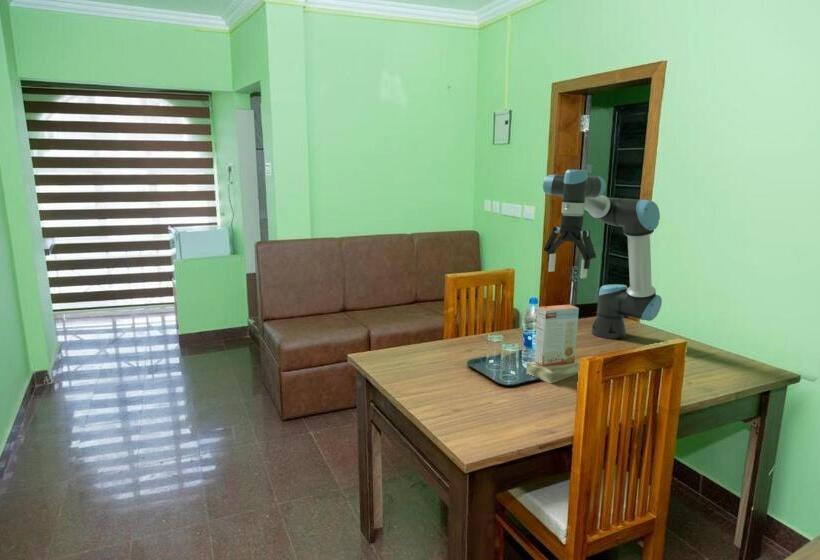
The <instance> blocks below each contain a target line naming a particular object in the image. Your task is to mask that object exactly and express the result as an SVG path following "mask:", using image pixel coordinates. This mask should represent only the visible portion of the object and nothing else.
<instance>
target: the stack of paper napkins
mask: <svg viewBox="0 0 820 560" xmlns="http://www.w3.org/2000/svg"><path fill="white" fill-rule="evenodd" d="M579 363H580V362H578V361H576V360H575V361H574V363H566V364H558V365H550V366H541V365H539V364H538V363H536V362H534V360H533V361H530V362H528V363H527V362H526V368H525V369H526V371H525V373H526V375H528V374H529V375H528V376H530V375H532V376H531V377H533V376H535V377H538V378H540V379H539V380H540V381H544V382H546V383H548V384H553V383H556V382H559V381H562V380H564V379H568V378H571V377H573V376H576V375H578V374H577V373H578V365H579ZM535 377H534V378H535ZM538 378H537V379H538Z"/></svg>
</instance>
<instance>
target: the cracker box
mask: <svg viewBox="0 0 820 560" xmlns="http://www.w3.org/2000/svg"><path fill="white" fill-rule="evenodd" d="M579 311H580V308H579V307H578V306H574V305H572V304H561V305H560V304H559V305H549V306H547V305H546V306H538V307H537V312H536V328H535V341H534V342H535V345H534V357H533V359H534V360H533V361H534V362H536V363H538V364H539V365H541V366H550V365H558V364H566V363H574V361H576V360H575V359H576V347H577V334H578V323H579V321H578V320H579Z"/></svg>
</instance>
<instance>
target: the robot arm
mask: <svg viewBox="0 0 820 560" xmlns="http://www.w3.org/2000/svg"><path fill="white" fill-rule="evenodd" d="M606 187H607V184H606V181H605V179H604V178H603V177H601V176H599V175H598V176H597V175H588V171H587V170H585V169H566V171H565V172H564V174H548V175H547V176H545V177H544V179H543V182H542V190H543V192H544V193H545V194H546V195H550V196H557V197H560V198H561V199H562V202H561V212H560V213H561V215H560V223H559V225H560V226H553V227H552V231H551V234H550V236H549V237H548V240H547V242H546V243H545V245H544V247H543V251H544V252H547V263H548V266H547V267H548V270H547V271H548V272H549V273H551V272H555V269H556V259H557V256H556V255H557V253H555V252H556V251H557V250H558V249H559V247H561V245H562V244H563V243H564V242H570V243H574V244H575V245H576V247H577V249H578V251H579V252H580V255H582V259H581V264H580V265H581V266H580V275H579V276H580V277H579V278H580V279H587V276H588V270H589V269H590V267H591V266H590V265H591V260H593V259H596V257H597V256H596V251H595V248H594V245H593V243H592V240H591V239H592V238H591V231H590V230H588V229H586V230H583V229H582V227H583V224H584V216H583V215H584V213H585V211H587V212H588V214H589V215H590V216H591V217H593V218H594V219H596V220H598V221H600V222H603V223H605V224H607V225H611V226H612V227H613V226H615V227H621V228H622V230H623V235H625V236H626V237H627V251H628V268H629V269H628V272H629V275H628V276H629V287H628V286H627V285H626V284H616V283H615V284H604V285H602V286H600V287H599V293H598V299H597V301H598V302H597V308H596V309H597V310H596V311H597V312H596V317H595V319H594V321H593V324H592V326H591V331H590V333H591V334H592V335H594V336H597V337H599V338H604V339H609V340H610V339H613V340H618V339H617V338H621V339H624V337H625V338H626V337H627V328H626V324H625V320H624V317H629V318H634V319H638V320H641V321H648V322H650V321H653V320H655V319H656V318H657V316H658V314H659V313H660V311H661V308H662V303H663V299H662V296H661V295H659V294H657V293H656V291H657V290H656V288H655V287H654V286H653V285H652V283H653V282H652V259H651V257H652V255H651V254H652V251H651V235H652V234H653V233H654V232H655V230H656V229H657V228H658V226H659V224H660V219H661V213H660V208H659V207H658V206H659V205H658V204H657V203H655V201H652V200H648V199H645V198H644V199H638V198H636V199H635V198H623V197H620V198H619V197H608V196H606V195H603V194H604V193H605V191H606ZM559 233H560V235H559ZM581 236H582V237H581Z"/></svg>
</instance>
